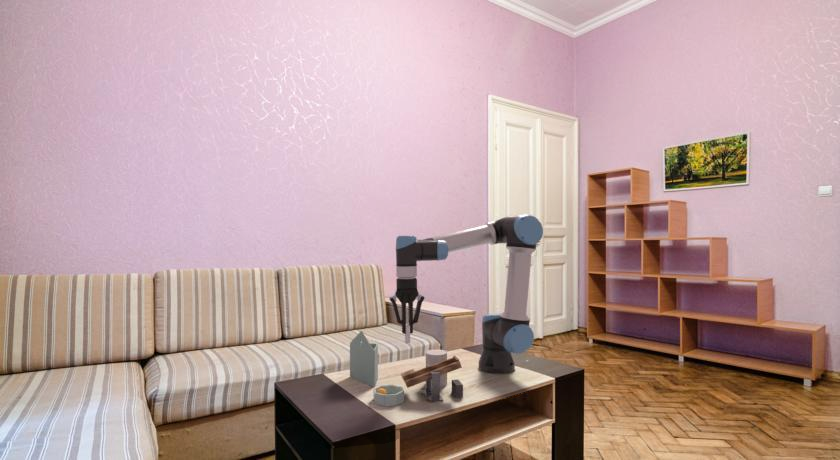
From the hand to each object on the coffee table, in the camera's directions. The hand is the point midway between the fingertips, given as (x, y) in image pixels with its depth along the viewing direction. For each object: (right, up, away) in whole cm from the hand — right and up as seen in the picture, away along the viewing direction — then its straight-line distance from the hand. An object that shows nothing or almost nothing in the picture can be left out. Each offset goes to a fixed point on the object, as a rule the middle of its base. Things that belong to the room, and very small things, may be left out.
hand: (407, 342), depth 161 cm
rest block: (+18, -17, -4) cm, 25 cm away
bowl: (-6, -17, -9) cm, 21 cm away
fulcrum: (+9, -17, -6) cm, 20 cm away
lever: (+8, -10, -3) cm, 13 cm away
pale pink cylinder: (+11, -18, +7) cm, 22 cm away
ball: (-9, -15, -10) cm, 20 cm away
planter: (-15, -18, +12) cm, 27 cm away
